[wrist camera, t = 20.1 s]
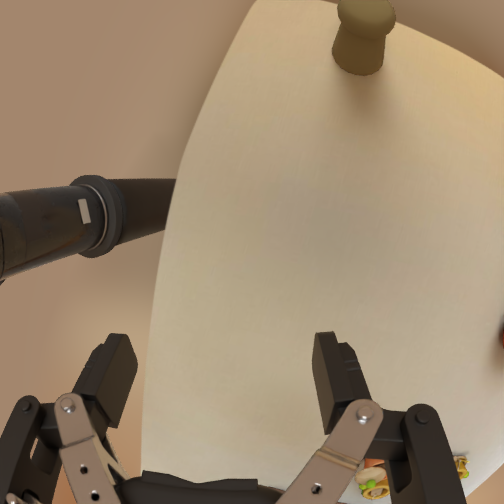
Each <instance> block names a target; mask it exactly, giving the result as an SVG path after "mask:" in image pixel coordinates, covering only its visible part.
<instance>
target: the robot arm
mask: <svg viewBox="0 0 504 504" xmlns="http://www.w3.org/2000/svg"><path fill="white" fill-rule="evenodd" d="M108 225H109V214H108V208H107V204H106V202H105V199H104V197H103V195H102V194H101V193H100V191H99V190H98V189H97V188H95V187H94V186H92V185H89V184H81V185H77V186H64V187H63V186H62V187H51V188H40V189H30V190H22V191H13V192H5V193H0V285H1V284H2V283H3V282H4V281H5V279H6V278H9V277H11V276H14V275H16V274H19V273H22V272H25V271H27V270H30V269H33V268H36V267H39V266H41V265H44V264H47V263H50V262H53V261H55V260H58V259H61V258H65V257H67V256H70V255H74V254H77V253H80V252H83V251H86V250H91V249H94V248H96V247H98V246H99V245H100V244H101V243H102V242H103V240H104V239H105V237H106V234H107V231H108ZM137 368H138V363H137V358H136V355H135V353H134V351H133V348H132V345H131V342H130V340H129V337H128V336H127V335H126V334H115V333H111V334H109V335H108V337H107V339H106V341H105V343H104V344H100V345H99V346H98V347H96V348H95V349H94V350H93V351H92V353H91V355H90V357H89V360H88V361H87V363H86V365H85V368H84V369H83V371H82V372H81V375H80V376H79V378H78V380H77V382H76V384H75V386H74V388H73V390H72V392H71V393H66V394H63V395H61V396H60V397H59V398H58V399H57V400H56V402H55V403H43V404H40V402H39V401H38V400H37V398H36V397H34V396H31V395H28V396H24V397H22V398H21V399H20V400H18V402H17V403H16V405H15V407H14V409H13V411H12V413H11V416H10V418H9V420H8V422H7V424H6V426H5V429H4V431H3V433H2V435H1V438H0V504H52V500H53V496H54V492H55V488H56V484H57V480H58V477H59V473H60V469H61V466H62V463H63V466H64V470H65V473H66V476H67V479H68V482H69V484H70V487H71V490H72V492H73V495H74V498H75V500H76V503H77V504H336V503H337V501H338V500H339V498H340V497H341V495H342V494H343V492H344V491H345V489H346V487H347V486H348V484H349V483H350V481H351V479H352V478H353V476H354V474H355V472H356V471H357V469H358V467H359V465H360V463H361V461H362V459H363V458H366V459H379V460H384V464H385V469H386V474H387V479H388V485H389V490H390V496H391V502H392V504H467V503H466V499H465V495H464V492H463V488H462V484H461V481H460V477H459V474H458V471H457V467H456V464H455V461H454V458H453V455H452V452H451V449H450V446H449V443H448V440H447V437H446V434H445V432H444V429H443V426H442V423H441V421H440V418H439V415H438V413H437V412H436V410H435V409H434V408H433V407H431V406H429V405H427V404H416V405H413V406H411V407H410V408H409V409H408V410H407V412H402V411H390V410H385V409H383V408H381V407H380V406H379V405H378V404H377V403H376V402H374V401H373V400H372V398H371V396H370V393H369V390H368V387H367V384H366V381H365V378H364V376H363V373H362V370H361V367H360V364H359V362H358V359H357V356H356V354H355V351H354V350H353V349H352V348H351V346H350V345H349V344H348V343H347V342H345V343H338V342H337V339H336V336H335V333H334V332H333V331H332V332H320V333H316V334H315V339H314V348H313V356H312V370H313V376H314V381H315V386H316V391H317V396H318V401H319V406H320V411H321V417H322V422H323V427H324V433H325V435H328V434H330V435H329V437H328V438H327V440H326V441H325V443H324V444H323V446H322V447H321V448H320V449H318V450H317V451H316V452H315V453H314V455H313V456H312V457H311V459H310V460H309V461H308V463H307V464H306V465H305V467H304V468H303V469H302V471H301V472H300V473H299V475H298V476H297V477H296V479H295V480H294V481H293V482H292V484H291V485H290V486H289V487H288V489H287V490H286V491H285V492H284V493H281V492H279V491H278V490H275V489H273V488H270V487H267V486H263V485H258V480H257V479H223V480H218V481H212V482H205V483H193V482H190V481H187V480H184V479H181V478H178V477H176V476H173V475H170V474H164V473H157V472H151V471H145V470H143V472H142V476H140V477H134V478H130V477H129V475H128V474H127V473H126V471H125V470H124V468H123V466H122V465H121V462H120V461H119V458H118V456H117V454H116V452H115V450H114V448H113V446H112V443H111V441H110V439H109V436H108V434H107V433H106V431H107V428H108V427H112V428H118V425H119V421H120V418H121V415H122V412H123V409H124V407H125V403H126V401H127V398H128V394H129V392H130V389H131V386H132V384H133V381H134V378H135V375H136V373H137ZM35 438H37V439H38V442H37V445H36V448H35V450H34V454H33V456H32V459H30V452H31V449H32V446H33V444H34V441H35Z"/></svg>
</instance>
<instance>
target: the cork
mask: <svg viewBox="0 0 504 504" xmlns="http://www.w3.org/2000/svg"><path fill="white" fill-rule="evenodd" d="M337 10H338V17H339V19H340V21H341V24H340V27H339V30H338V33H337V36H336V38H335V41H334V44H333V47H332V54H333V57H334V59H335V61H336V63H337V64H338V65H339V66H340V67H341V68H342V69H344V70H345V71H347V72H349V73H352V74H355V75H363V76H365V75H370V74H373V73H374V72H376V71H378V70H379V68H380V67H381V66H382V63H383V59H384V49H385V38H386V35H387V34H389V33H390V31H391V30H392V29H393V28H394V25H395V21H396V15H395V11H394V8H393V7H392V5H391V3H390V2H389V1H388V0H340V1H339V3H338V6H337Z"/></svg>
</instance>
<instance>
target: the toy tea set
mask: <svg viewBox="0 0 504 504" xmlns="http://www.w3.org/2000/svg"><path fill="white" fill-rule="evenodd" d="M453 458H454V461H455V464H456V467H457V471H458V474H459V477H460V480H461V479H462V478H467V477H468V476H469V472H468V471H467V469H466V468H465V465H466V463H467V462H468V461H467V459H466V457H464V456H454V457H453ZM355 481H356V482H357V483H359V484H360V485H359V488H360V489H362V493H361V494H362V495H363V497H364V498H366V499H371V500H373V499H379V498H382V497H385V496H387V495H388V494H390V490H389V485H388V479H387V474H386V469H385V464H384V460H379V459H366V460H365V466H364V469H363V470H361V471H359V472H358V473H357V474H356V476H355Z"/></svg>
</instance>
